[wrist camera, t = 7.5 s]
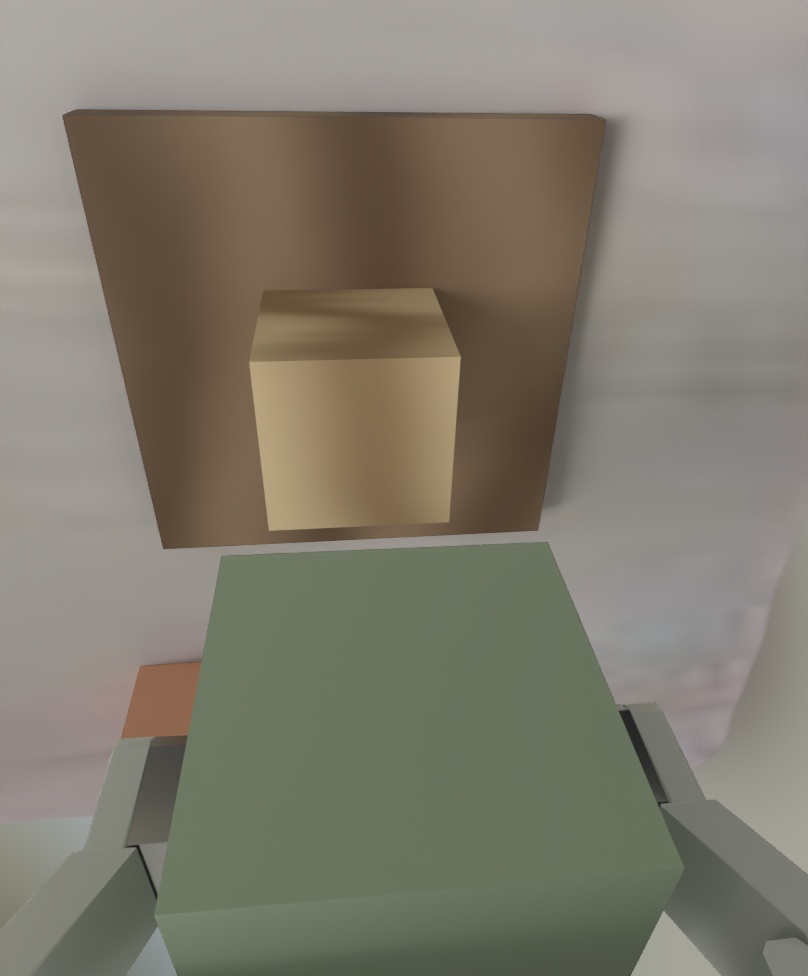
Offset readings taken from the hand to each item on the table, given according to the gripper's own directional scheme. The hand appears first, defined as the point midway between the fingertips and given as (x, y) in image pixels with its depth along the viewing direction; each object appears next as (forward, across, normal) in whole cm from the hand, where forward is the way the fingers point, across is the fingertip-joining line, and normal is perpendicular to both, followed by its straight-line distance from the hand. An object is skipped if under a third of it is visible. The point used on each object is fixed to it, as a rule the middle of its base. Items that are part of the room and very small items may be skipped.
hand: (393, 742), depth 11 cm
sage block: (+2, 0, 0) cm, 2 cm away
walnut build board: (+15, 0, 0) cm, 15 cm away
